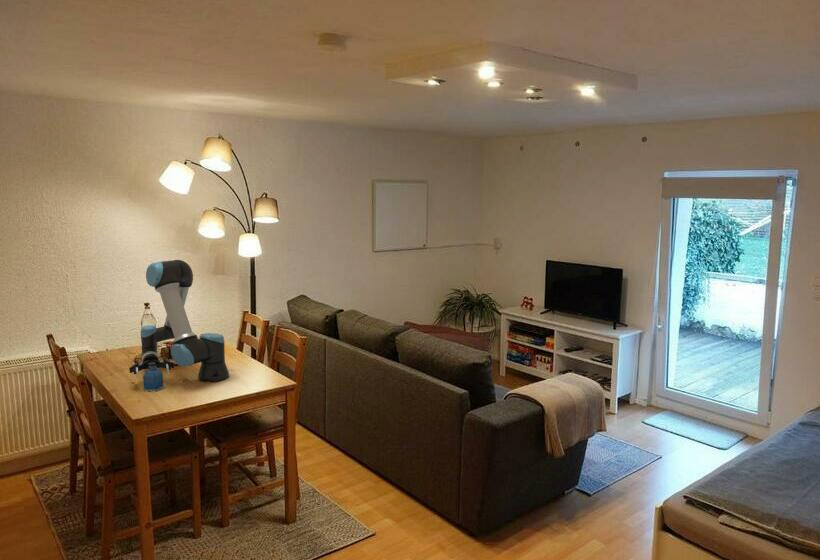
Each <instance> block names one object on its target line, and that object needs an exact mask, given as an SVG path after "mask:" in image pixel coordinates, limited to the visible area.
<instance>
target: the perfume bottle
mask: <svg viewBox="0 0 820 560" xmlns="http://www.w3.org/2000/svg"><path fill="white" fill-rule="evenodd" d="M163 376H164V375H163V372H162V371H161V370H160V369H159V368H156V363H155V362H151V363H149V369H146V371H145V372H144V374H143V377H142V378H143V387H144V388H145V389H157V388H159V387H161V386H163V385H164V377H163Z"/></svg>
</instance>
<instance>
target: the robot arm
mask: <svg viewBox="0 0 820 560" xmlns="http://www.w3.org/2000/svg"><path fill="white" fill-rule="evenodd" d="M145 280H146V282H147V284H148V285H149V286H150V287H153V288H154V291H155V292H157V293H159V294H160V298H161V301H162V305H163V308H164V310H165V313H166V317H165V321H164V324H163V326H159V327H157V326H155V325H154V324H153V325H151V324H150V325H144V326H142V327H141V328H140V341H141V358H142V359H141V360H142V362H139V361H136V362H135V364H133V365H132V366H130V367H128V368H129V369H128V371H129V373H130V374H132V373H133V375H136V377H137V378H139V372H140V371H143V370H149V363H151V362H155V363H156V369H159V368H160V369H162V368H163V369H165V370H166V373H167V374H170V370H171V369H174V368H175V364H176V365H178V366H180V367H183V368H184V367H189V366H190V367H191V366H192V365H195V364H199V363H200V368H199V372H198V375H197V378H198V381H200V382H205V383H215V382H217V383H218V382H221V381H225V380H227V379H228V378H229V376H230V372H229V370H228V367H227V364H226V361H225V359H226V356H225V354H226V353H225V337H224V336H223V334H219V333H212V332H211V333H210V332H209V333H208V332H207V333H201V334H200V335H199V338H198V335H197V334H196V333H194V332H193V330H192V327H191V324H190V320H189V319H188V316H187V312H186V309H185V305H186V301H187V297H188V293H189V289H190V288H191V287H192V285H193V282H194V272H193V269H192V267H191V266H190V264H188V263H187V262H186V261H184V260H183V259H174V260H164V261H156V262H152V263H150V264H149V265H148V266H147V268H146V271H145ZM169 340H173V341H172V346H171V348H170V355H171V356H170V357H171V358H172V360H173V361H174V362H172V361H169V360H167V359H165V358H164V359H162V360H160V359H159V355H158V354H159V353H158V343H159V342H164V341H169Z"/></svg>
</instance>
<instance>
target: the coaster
mask: <svg viewBox="0 0 820 560" xmlns="http://www.w3.org/2000/svg"><path fill="white" fill-rule="evenodd" d="M164 387H165V384H163V386H161V387H159V388H157V389H145V388H144V386H143V387H141V388H142V389H141V390H142V391H143V390H144V391H143V392H145V391H148V392H147V393H151V392H150V391H155V392H159V391H158V390H160V391H162V390H164V389H165V388H164ZM163 388H164V389H163ZM161 389H162V390H161Z"/></svg>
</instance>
